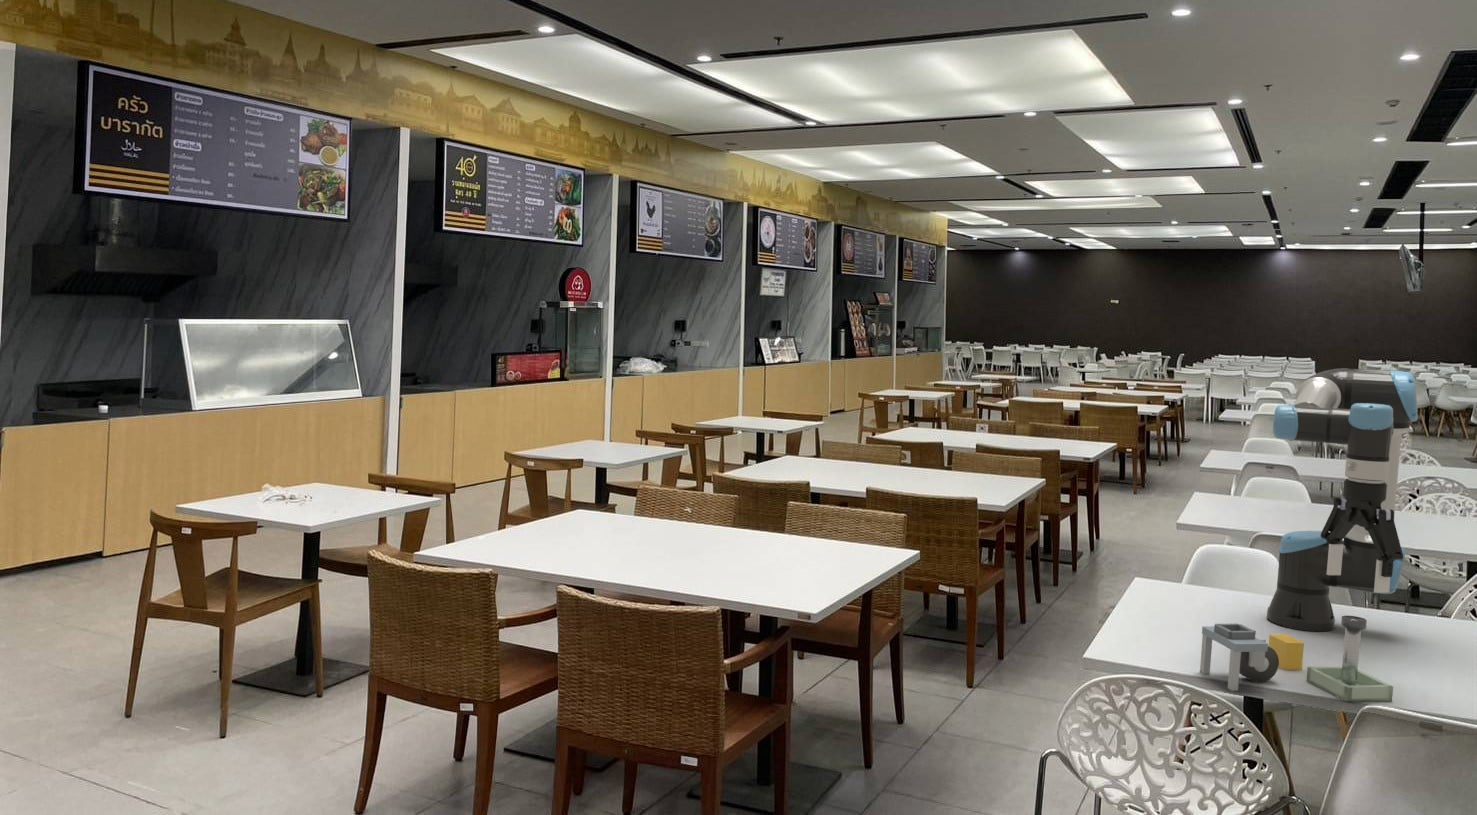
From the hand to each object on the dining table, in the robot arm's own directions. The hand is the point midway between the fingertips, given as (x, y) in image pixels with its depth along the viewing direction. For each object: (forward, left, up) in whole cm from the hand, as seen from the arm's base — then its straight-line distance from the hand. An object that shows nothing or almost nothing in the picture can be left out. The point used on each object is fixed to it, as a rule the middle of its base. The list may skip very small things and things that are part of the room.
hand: (1356, 583), depth 214 cm
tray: (0, 0, -22) cm, 23 cm away
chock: (+3, -16, -23) cm, 28 cm away
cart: (+19, -7, -23) cm, 30 cm away
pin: (0, 0, -22) cm, 22 cm away
